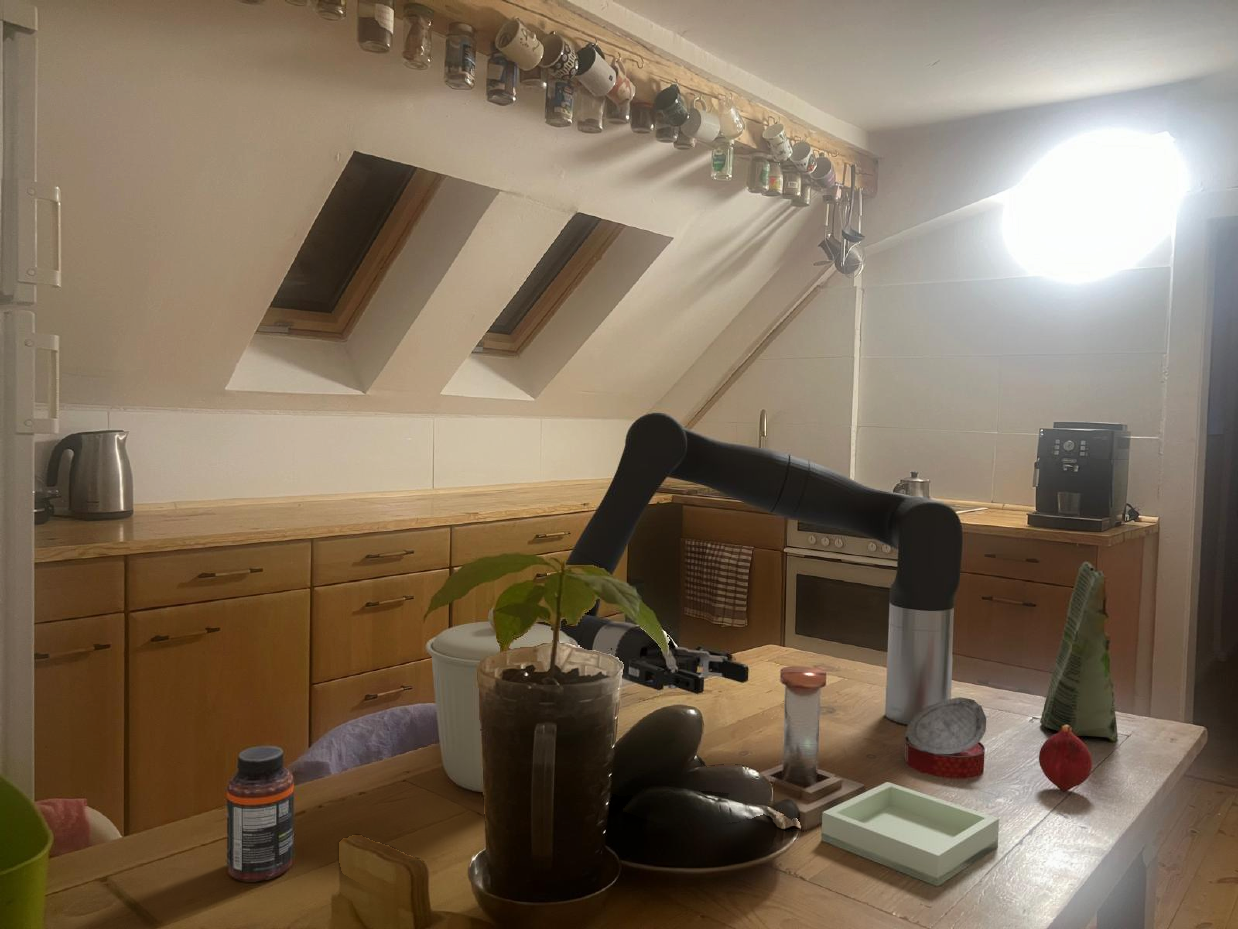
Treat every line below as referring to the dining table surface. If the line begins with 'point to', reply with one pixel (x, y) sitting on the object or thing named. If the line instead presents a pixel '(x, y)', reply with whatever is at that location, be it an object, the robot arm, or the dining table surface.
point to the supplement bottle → (260, 816)
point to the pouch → (1083, 665)
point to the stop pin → (801, 724)
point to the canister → (468, 691)
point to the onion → (1065, 759)
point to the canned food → (947, 739)
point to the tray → (911, 832)
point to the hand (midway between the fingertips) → (725, 679)
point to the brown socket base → (810, 796)
